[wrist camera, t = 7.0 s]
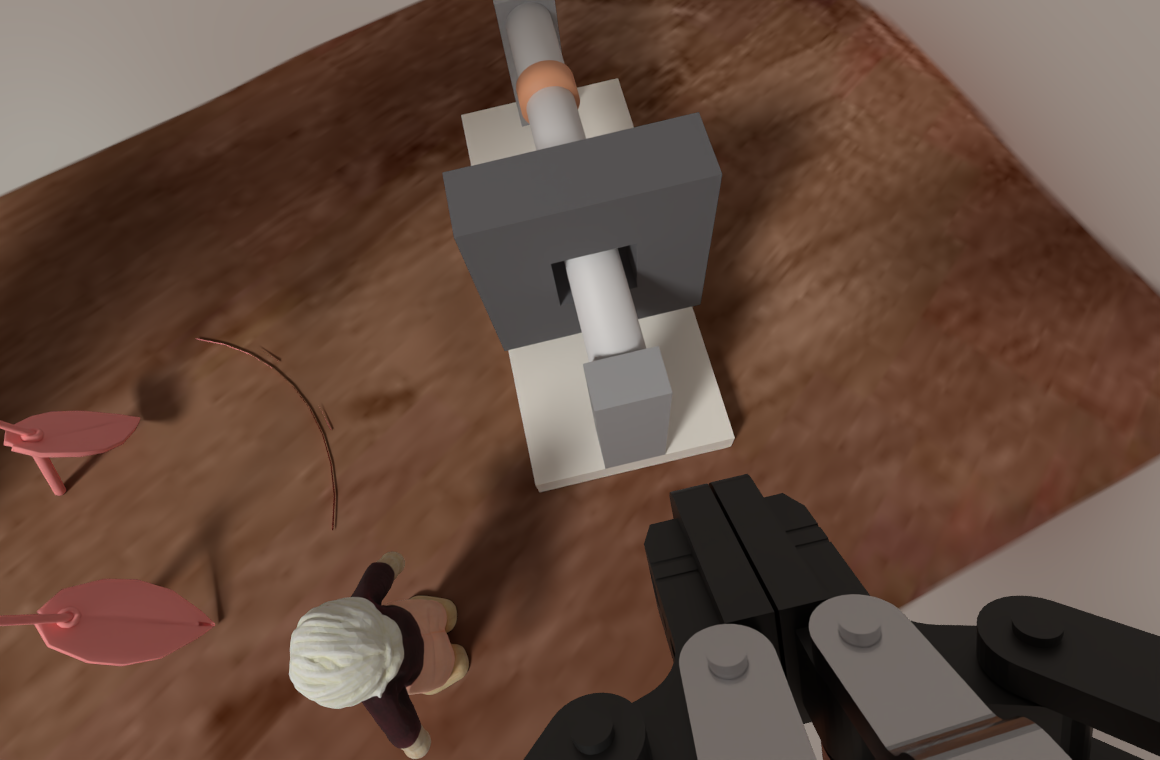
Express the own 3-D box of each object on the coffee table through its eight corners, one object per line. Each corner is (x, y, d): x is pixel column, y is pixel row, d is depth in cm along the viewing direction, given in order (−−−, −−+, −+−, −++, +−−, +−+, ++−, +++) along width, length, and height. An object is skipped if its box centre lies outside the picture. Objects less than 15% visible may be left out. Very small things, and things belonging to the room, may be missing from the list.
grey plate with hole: (504, 351, 34) (453, 237, 25) (494, 299, 35) (442, 172, 26) (700, 304, 34) (722, 174, 25) (683, 254, 35) (698, 112, 26)
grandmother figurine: (371, 596, 34) (227, 565, 22) (442, 560, 34) (338, 509, 22) (428, 756, 31) (297, 818, 19) (505, 714, 31) (424, 749, 20)
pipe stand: (539, 492, 35) (503, 433, 26) (466, 132, 44) (420, -7, 35) (731, 446, 35) (763, 371, 26) (618, 96, 44) (612, -53, 35)
